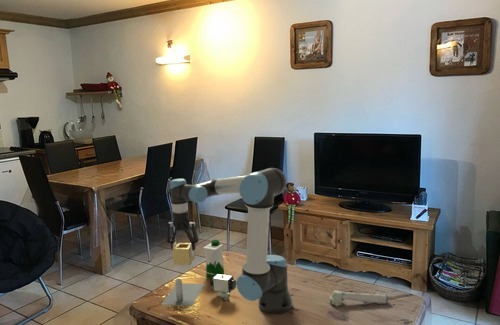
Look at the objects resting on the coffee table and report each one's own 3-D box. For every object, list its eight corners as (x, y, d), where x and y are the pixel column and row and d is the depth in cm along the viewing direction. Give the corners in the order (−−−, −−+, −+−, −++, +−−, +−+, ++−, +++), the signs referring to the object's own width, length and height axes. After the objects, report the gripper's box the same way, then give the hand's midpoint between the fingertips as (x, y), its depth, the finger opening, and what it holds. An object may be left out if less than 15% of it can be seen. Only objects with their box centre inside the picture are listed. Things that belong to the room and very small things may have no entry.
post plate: (205, 286, 204) (203, 264, 203) (192, 308, 183) (190, 284, 181) (177, 285, 207) (175, 263, 205) (161, 307, 186) (158, 283, 184)
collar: (194, 258, 199) (193, 243, 198) (189, 265, 191) (188, 249, 190) (179, 258, 201) (178, 242, 199) (173, 264, 193) (172, 248, 192)
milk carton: (226, 276, 215) (224, 240, 212) (217, 283, 208) (214, 246, 205) (213, 273, 220) (210, 238, 217) (203, 280, 212) (200, 244, 209)
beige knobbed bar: (388, 297, 177) (331, 291, 178) (386, 311, 178) (330, 305, 179) (385, 292, 182) (330, 286, 183) (383, 305, 183) (328, 299, 184)
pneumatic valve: (233, 302, 187) (231, 278, 185) (210, 299, 191) (209, 275, 189) (238, 297, 192) (236, 273, 190) (216, 293, 196) (214, 270, 194)
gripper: (203, 208, 194) (206, 253, 197) (162, 209, 198) (166, 253, 201) (198, 213, 187) (202, 259, 190) (156, 213, 190) (160, 258, 194)
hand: (184, 256), depth 196 cm, fingers closed on collar, 8 cm apart
